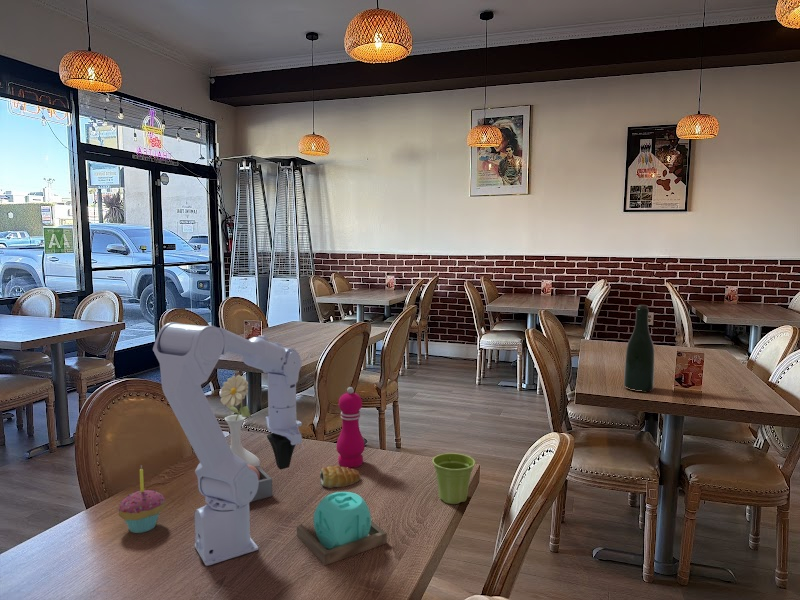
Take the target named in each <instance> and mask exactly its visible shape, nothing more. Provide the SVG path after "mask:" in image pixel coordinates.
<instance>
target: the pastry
mask: <svg viewBox="0 0 800 600" xmlns="http://www.w3.org/2000/svg"><path fill="white" fill-rule="evenodd" d="M319 477H320V483H321V486H322V487H325V488H328V489H330V488H331V489H332V488H342V487H347V486H350V484H351V485H353V484H356V483H357V482H359V481H360V479H361V478H360V477H361V475H360V472H359V470H356V469H355V468H347V467H342V466H340V465H334V466H329V465H328V466H327V467H322V468H321V470H320V472H319Z"/></svg>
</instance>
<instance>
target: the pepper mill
mask: <svg viewBox="0 0 800 600" xmlns="http://www.w3.org/2000/svg"><path fill="white" fill-rule="evenodd" d="M338 407H339V410H340V411H341V412H340V418H341V420H342V425H341V430H340V433H339V436H338V438H337V441H336V451H337V452H338V454H339V455H338V459H337V460H338V461H337V462H338V466H339V467H348V468H350V469H352V468H351V467H354V468H357V467H361V466H362V465H363V464H362V463H364V456H363V453H364V452H365V441H364V437H363V435H362V433H361V430H360V425H359V423H360V422H359V420H360V418H361V411H360V410H361V408H362V407H363V399H362V397H361V396H360V395H359V394H358V393H356V392H355V390H354V388H353V387H352V386H348V387H347V390H346V393H343V394H342V395H341V396H340V397H339V399H338ZM361 464H362V465H361Z"/></svg>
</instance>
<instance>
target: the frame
mask: <svg viewBox="0 0 800 600" xmlns="http://www.w3.org/2000/svg"><path fill="white" fill-rule="evenodd" d="M296 536H297V538H299V540H301V542H302V543H303V544H304V545H305V546H306V547H307V548H308V549H309V550H310V551H311V552H312V554H313V555H314V556H315V557H316V558H317V559H319V561H320V562H321V563H322V564H323V565H324V566H327V565H330V564H333V563H336V562H339V561H341V560H344V559H347V558H350V557H353V556H355V555H358V554H361V553H363V552H366V551H369V550H372V549H375V548H377V547H380V546H383V545H385V544H388V534H387V532H386V531H385V530H384V529H382V528H381V527H380V526H379V525H378V524H376V523H375V522H373V521H372V520H371V527H370V531H369V533H368V536H367V537H365V538H362V539H359V540H356V541H353V542H350V543H347V544H344V545H341V546H338V547H336V548H333V549H330V550H329V549H327V548H325V547H324V546H323V545H322V544H321V542H320V541H319V539H318V538H316V537H315V536H314V535H313V534H312V533H311V532H310V531H309V530H308V529H307V528H306V527H305V526H304V525H303V524H299V525H296Z"/></svg>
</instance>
